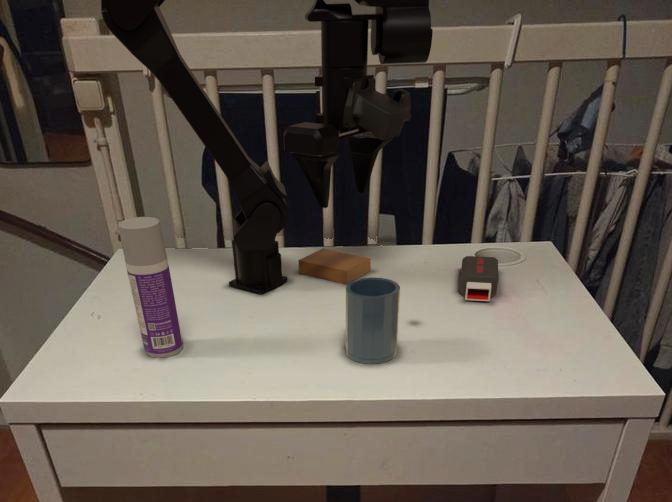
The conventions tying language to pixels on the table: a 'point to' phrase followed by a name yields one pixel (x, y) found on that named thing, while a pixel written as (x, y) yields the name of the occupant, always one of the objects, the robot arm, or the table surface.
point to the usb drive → (478, 278)
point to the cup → (372, 319)
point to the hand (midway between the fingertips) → (343, 199)
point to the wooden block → (334, 265)
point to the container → (151, 285)
